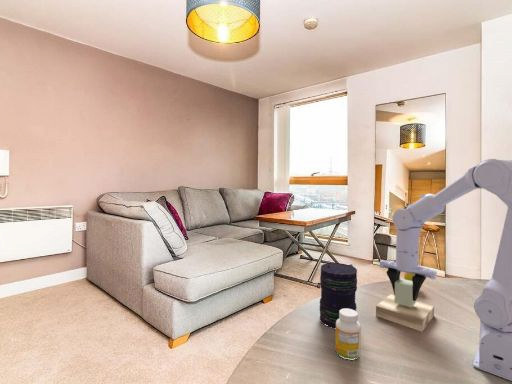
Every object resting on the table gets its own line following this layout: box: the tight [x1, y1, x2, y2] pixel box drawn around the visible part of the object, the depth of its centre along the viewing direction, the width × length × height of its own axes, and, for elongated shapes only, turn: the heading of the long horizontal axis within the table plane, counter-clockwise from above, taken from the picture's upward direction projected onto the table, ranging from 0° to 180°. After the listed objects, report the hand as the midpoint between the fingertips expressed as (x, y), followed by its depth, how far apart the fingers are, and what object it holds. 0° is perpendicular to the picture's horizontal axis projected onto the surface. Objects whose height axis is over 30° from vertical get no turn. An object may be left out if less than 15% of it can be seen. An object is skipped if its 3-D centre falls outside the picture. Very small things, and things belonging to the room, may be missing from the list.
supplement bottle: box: [334, 308, 362, 359], centre depth 64 cm, size 5×5×10 cm
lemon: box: [403, 272, 415, 281], centre depth 102 cm, size 6×6×8 cm
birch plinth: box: [375, 293, 435, 333], centre depth 82 cm, size 12×12×3 cm
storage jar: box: [319, 262, 358, 329], centre depth 79 cm, size 10×10×15 cm
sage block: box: [394, 277, 417, 307], centre depth 82 cm, size 4×4×6 cm
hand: (405, 297), depth 82 cm, fingers closed on sage block, 4 cm apart
